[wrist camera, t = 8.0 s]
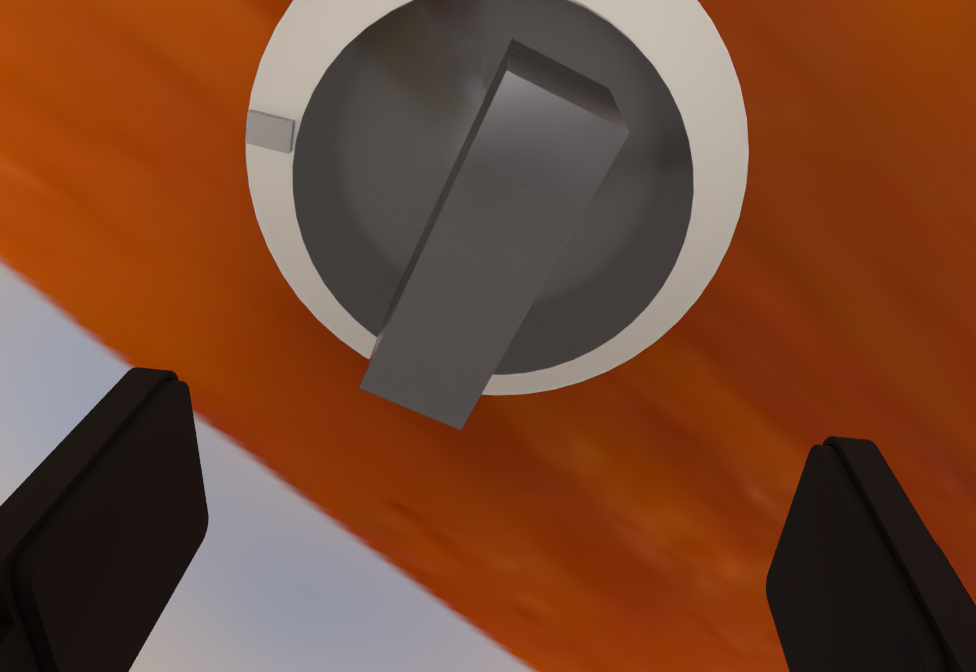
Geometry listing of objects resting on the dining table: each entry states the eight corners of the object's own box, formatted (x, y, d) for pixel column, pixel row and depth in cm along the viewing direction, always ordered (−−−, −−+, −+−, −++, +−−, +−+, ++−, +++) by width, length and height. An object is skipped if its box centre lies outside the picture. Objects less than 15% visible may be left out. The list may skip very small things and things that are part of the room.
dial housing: (806, -21, 24) (844, -12, 21) (636, 393, 31) (647, 441, 28) (302, -163, 23) (268, -175, 20) (254, 302, 30) (225, 342, 27)
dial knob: (387, -100, 20) (331, -109, 15) (763, 99, 22) (843, 161, 17) (258, 267, 26) (181, 365, 20) (569, 401, 28) (579, 525, 22)
